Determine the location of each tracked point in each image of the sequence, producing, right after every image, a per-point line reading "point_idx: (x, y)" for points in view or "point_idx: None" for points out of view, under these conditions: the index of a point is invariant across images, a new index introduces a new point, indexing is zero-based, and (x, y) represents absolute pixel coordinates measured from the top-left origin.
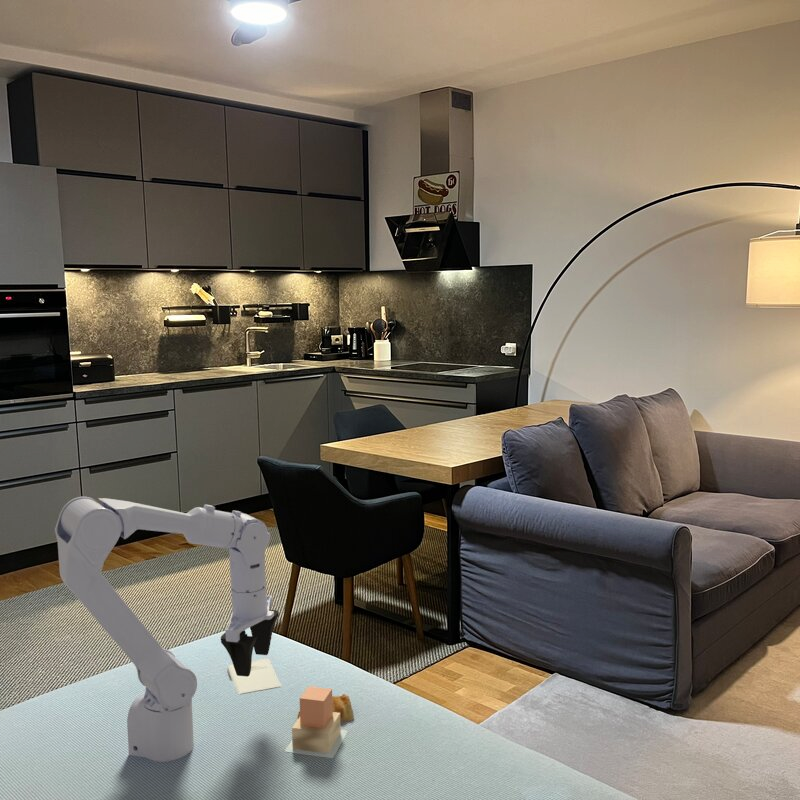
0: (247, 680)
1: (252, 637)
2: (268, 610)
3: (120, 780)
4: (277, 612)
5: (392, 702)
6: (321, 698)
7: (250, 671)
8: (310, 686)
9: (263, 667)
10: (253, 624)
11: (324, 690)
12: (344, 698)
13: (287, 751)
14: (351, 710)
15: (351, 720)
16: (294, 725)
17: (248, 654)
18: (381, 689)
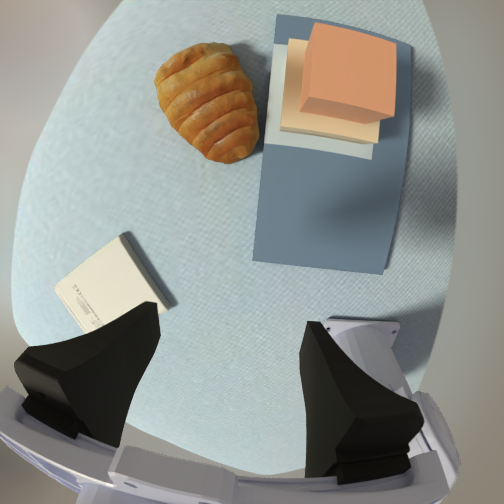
0: (120, 306)
1: (373, 433)
2: (116, 488)
3: (404, 373)
4: (23, 367)
5: (138, 15)
6: (382, 49)
7: (310, 325)
8: (309, 90)
9: (76, 289)
10: (341, 498)
11: (330, 42)
12: (187, 58)
13: (371, 153)
14: (214, 43)
15: (229, 46)
16: (367, 138)
17: (371, 378)
18: (95, 51)
